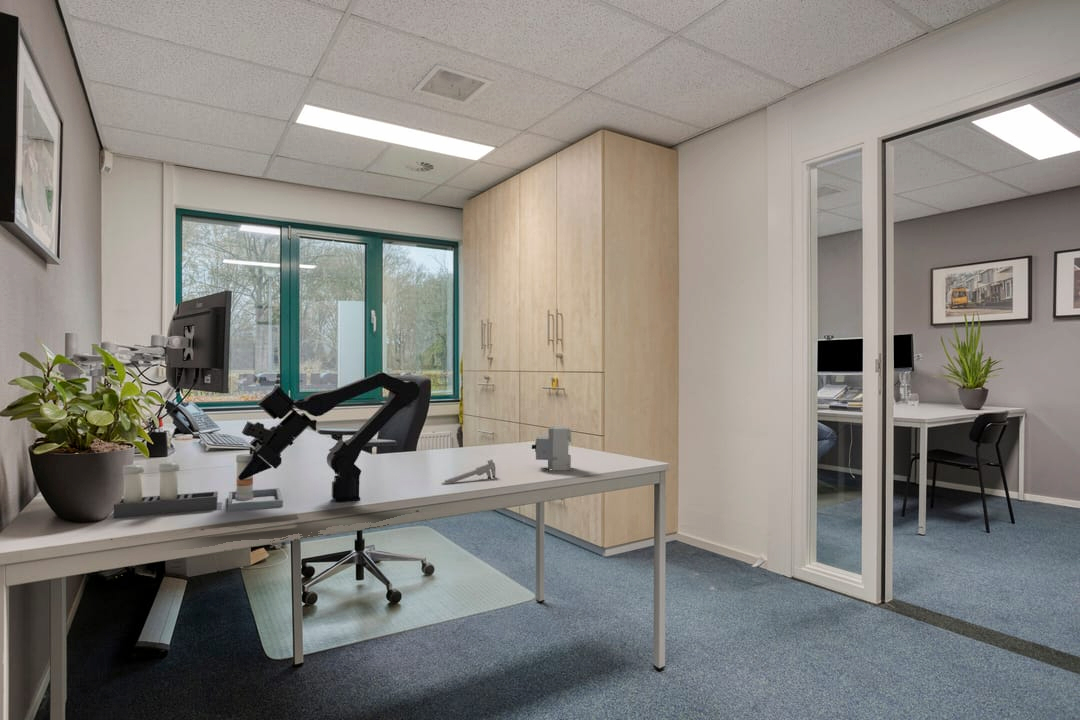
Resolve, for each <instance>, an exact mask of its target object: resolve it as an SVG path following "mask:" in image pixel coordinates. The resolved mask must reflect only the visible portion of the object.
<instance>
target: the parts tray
mask: <svg viewBox="0 0 1080 720" xmlns="http://www.w3.org/2000/svg"><path fill="white" fill-rule="evenodd" d="M252 492H253V497H262V496H263V497H265V496H276V499H271V500H259V501H248V502H247V501H244V502H236V503H233V499H235V494H236V491H234V490H233V491H229V492H228V497H227V511H228V512H233V511H244V510H245V511H246V510H256V509H257V510H258V509H267V508H277V507H279V508H280V507H284V500H283V499H284V498H283V496H282V492H281V489H280V487H275V488H274V487H273V488H263V489H260V488H259V489H253V490H252Z"/></svg>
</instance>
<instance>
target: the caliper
mask: <svg viewBox="0 0 1080 720" xmlns="http://www.w3.org/2000/svg"><path fill="white" fill-rule="evenodd" d="M496 473H497V472H496V464H495V462H494V461H493V459H489V460H487V463H485V464H483V465H479V466H477V467H475V469H472V470H469V471H466V472H464V473H461V474H457V475H455V476H452V477H449V478H447V479H444V481H443V482H441V485H443V484H444V485H450V484H449V483H451V484H454V483H457V482H459V481H462V480H465V479H468V478H469V477H472V476H476V475H477V476H478V477H479V476H481V475H484V474H486V476H487V478H488V477H491V478H492V476H495V477H496Z"/></svg>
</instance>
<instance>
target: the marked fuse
mask: <svg viewBox="0 0 1080 720" xmlns="http://www.w3.org/2000/svg"><path fill="white" fill-rule="evenodd" d="M235 457H236V458H235V461H236V482H235V483H236V485H235V486H236V489H235V490H236V494H235V498H234V500H235V501H236V502H237V501H238V502H247V501H248V502H249V501H251V500H252V501H253V499H254V496H253V492H252V490H254V489H253V488H254V487H253V486H254V485H253V484H254V475H252V476H250V477H248V478H245V479H243V480H240V479H238V476H239V475H240V474H241V472H242V471H243V470H244V468H245V467H246V466H247V465H248V463H249V462H250V461H251V459H252V454H250V453H247V454H246V453H245V454H237V455H236V456H235Z"/></svg>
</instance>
